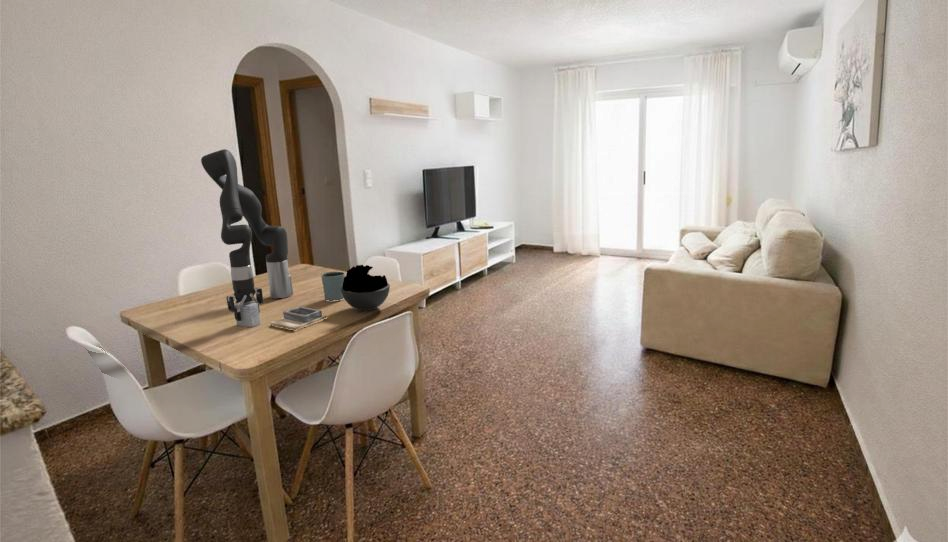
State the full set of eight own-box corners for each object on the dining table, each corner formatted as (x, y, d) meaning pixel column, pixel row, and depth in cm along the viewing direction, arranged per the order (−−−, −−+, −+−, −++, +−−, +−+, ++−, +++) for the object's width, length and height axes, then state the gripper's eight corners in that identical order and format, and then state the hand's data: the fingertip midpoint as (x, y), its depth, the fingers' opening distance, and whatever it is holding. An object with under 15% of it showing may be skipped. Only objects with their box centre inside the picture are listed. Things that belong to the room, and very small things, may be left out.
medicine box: (261, 324, 194) (258, 302, 192) (252, 327, 190) (249, 306, 188) (245, 322, 197) (242, 301, 195) (236, 325, 193) (233, 304, 191)
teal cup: (319, 301, 223) (316, 275, 220) (333, 295, 232) (330, 270, 229) (337, 303, 219) (335, 277, 216) (351, 297, 228) (349, 272, 225)
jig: (303, 314, 205) (302, 305, 204) (327, 319, 198) (326, 309, 197) (270, 325, 192) (269, 316, 191) (295, 331, 185) (294, 321, 184)
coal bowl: (368, 300, 223) (365, 259, 219) (400, 306, 212) (398, 264, 208) (332, 311, 207) (328, 268, 203) (365, 319, 196) (362, 274, 192)
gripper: (252, 272, 197) (257, 311, 201) (218, 280, 185) (225, 321, 189) (264, 273, 193) (269, 314, 197) (231, 282, 181) (237, 324, 185)
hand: (247, 317), depth 193 cm, fingers open, 7 cm apart
